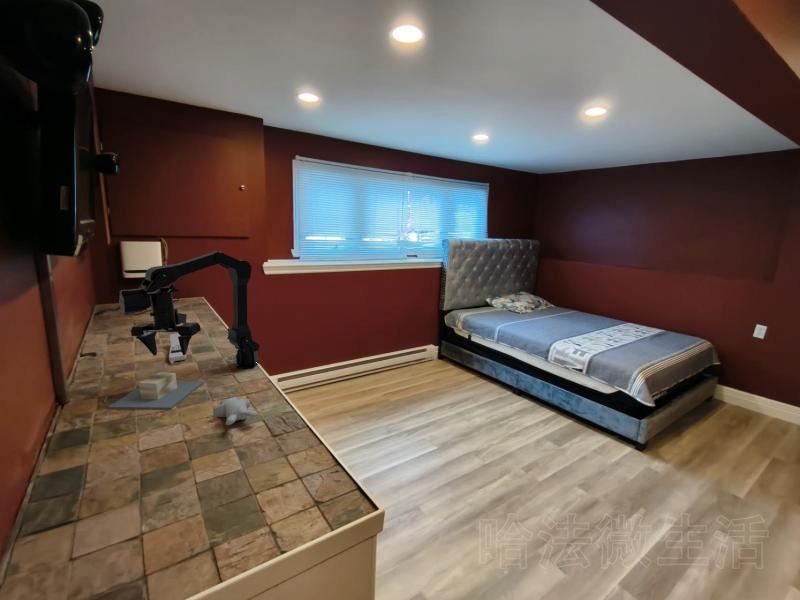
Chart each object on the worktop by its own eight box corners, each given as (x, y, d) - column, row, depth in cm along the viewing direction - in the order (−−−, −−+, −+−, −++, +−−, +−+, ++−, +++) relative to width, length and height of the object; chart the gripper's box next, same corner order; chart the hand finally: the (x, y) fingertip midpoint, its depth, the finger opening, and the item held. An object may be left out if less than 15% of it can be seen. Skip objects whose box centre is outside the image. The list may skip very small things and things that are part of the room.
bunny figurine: (243, 390, 107) (260, 403, 95) (245, 407, 107) (262, 422, 96) (208, 399, 101) (222, 415, 89) (210, 417, 102) (224, 434, 90)
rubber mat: (204, 382, 121) (204, 381, 121) (171, 409, 103) (170, 407, 103) (150, 382, 121) (150, 380, 121) (107, 408, 103) (107, 406, 103)
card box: (158, 399, 108) (156, 383, 107) (141, 398, 108) (139, 382, 107) (177, 387, 116) (175, 373, 115) (161, 386, 116) (159, 372, 115)
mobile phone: (185, 331, 159) (185, 348, 138) (187, 344, 160) (186, 362, 139) (169, 333, 156) (166, 350, 135) (171, 347, 157) (168, 365, 136)
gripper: (206, 301, 121) (211, 346, 124) (149, 302, 120) (156, 346, 124) (187, 309, 110) (194, 358, 113) (125, 310, 109) (133, 358, 113)
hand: (169, 355), depth 116 cm, fingers open, 9 cm apart
